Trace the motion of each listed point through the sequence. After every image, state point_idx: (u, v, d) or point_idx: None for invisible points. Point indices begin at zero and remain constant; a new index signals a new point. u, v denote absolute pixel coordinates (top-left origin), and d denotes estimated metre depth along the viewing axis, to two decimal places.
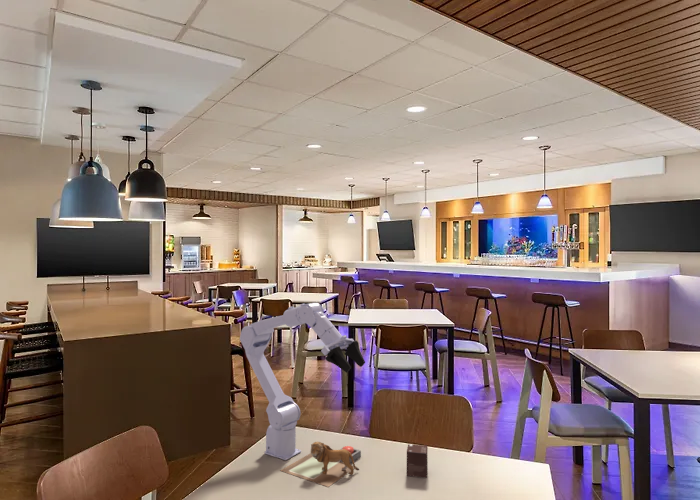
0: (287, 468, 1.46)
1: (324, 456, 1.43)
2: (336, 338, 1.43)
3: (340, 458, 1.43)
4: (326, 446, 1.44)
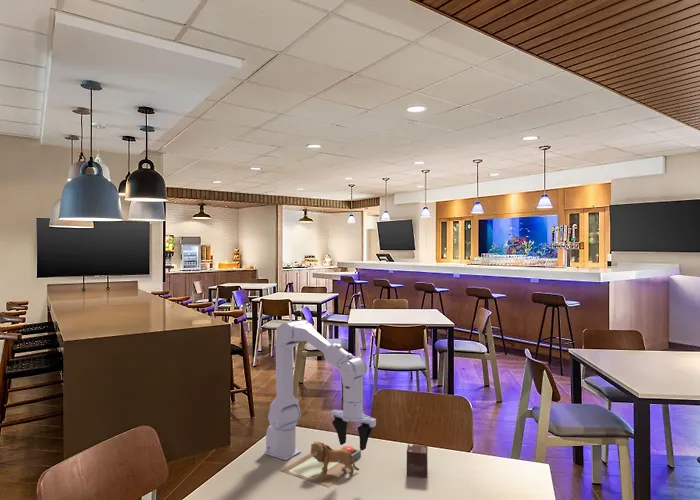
0: (287, 468, 1.46)
1: (324, 456, 1.43)
2: (343, 413, 1.39)
3: (340, 458, 1.43)
4: (326, 446, 1.44)
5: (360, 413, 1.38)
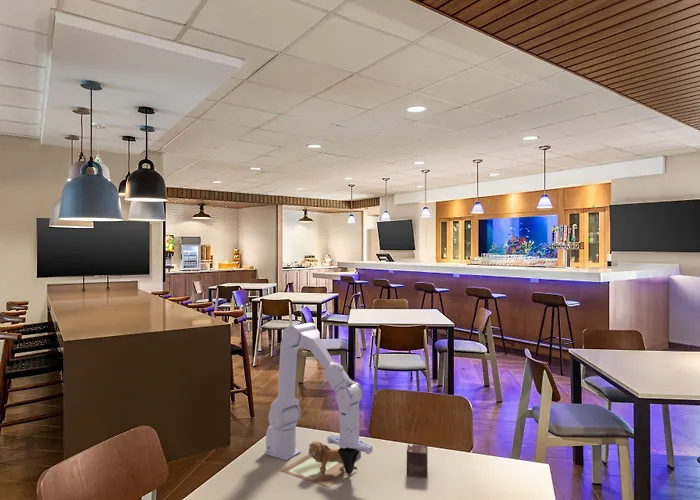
0: (287, 468, 1.46)
1: (322, 455, 1.43)
2: (340, 439, 1.39)
3: (338, 457, 1.43)
4: (324, 446, 1.44)
5: (356, 439, 1.39)
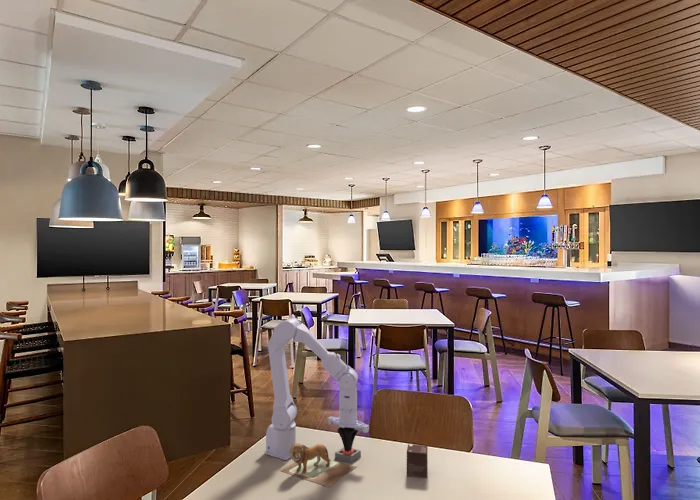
0: (287, 468, 1.46)
1: (304, 455, 1.43)
2: (339, 420, 1.53)
3: (317, 453, 1.46)
4: (303, 446, 1.44)
5: (354, 420, 1.52)
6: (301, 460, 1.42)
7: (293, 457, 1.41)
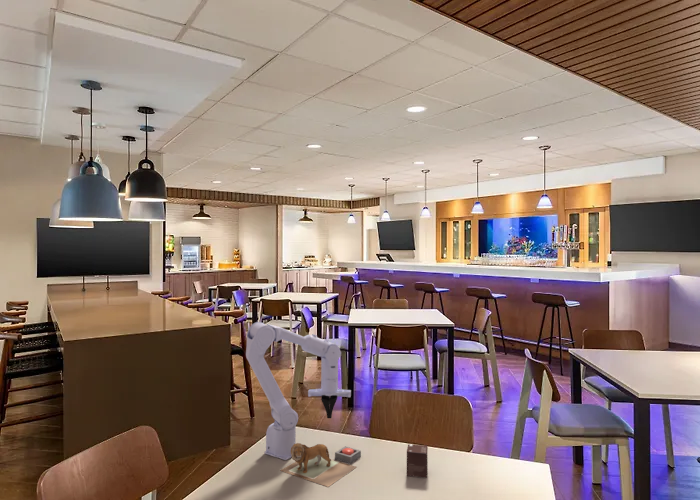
0: (287, 468, 1.46)
1: (305, 455, 1.43)
2: (323, 390, 1.62)
3: (318, 453, 1.46)
4: (304, 445, 1.45)
5: (337, 387, 1.64)
6: (302, 460, 1.42)
7: (294, 457, 1.41)
